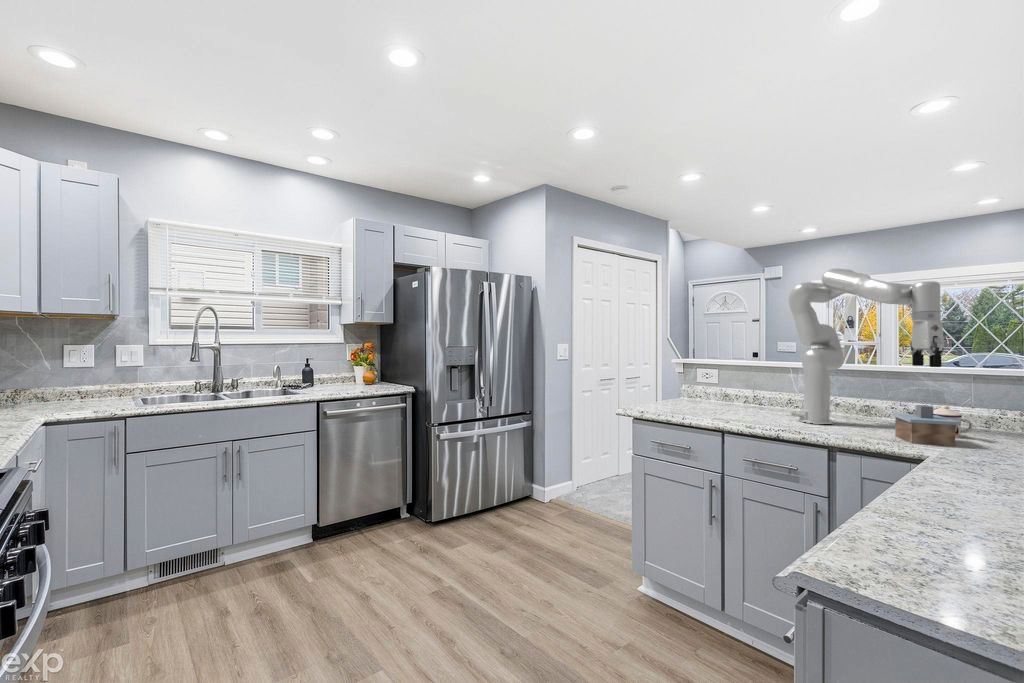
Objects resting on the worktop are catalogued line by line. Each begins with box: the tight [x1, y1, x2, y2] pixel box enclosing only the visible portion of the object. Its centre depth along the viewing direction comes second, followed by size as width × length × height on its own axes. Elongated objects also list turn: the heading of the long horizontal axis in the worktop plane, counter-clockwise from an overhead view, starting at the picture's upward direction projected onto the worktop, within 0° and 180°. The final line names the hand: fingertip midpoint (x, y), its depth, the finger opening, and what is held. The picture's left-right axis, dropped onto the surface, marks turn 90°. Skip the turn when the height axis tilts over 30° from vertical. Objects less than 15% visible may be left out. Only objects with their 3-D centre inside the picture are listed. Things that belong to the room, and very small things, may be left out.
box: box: [894, 417, 956, 447], centre depth 167 cm, size 12×12×8 cm
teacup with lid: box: [933, 405, 974, 439], centre depth 176 cm, size 12×9×12 cm
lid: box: [891, 404, 960, 425], centre depth 167 cm, size 14×14×5 cm
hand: (926, 366), depth 168 cm, fingers open, 9 cm apart
